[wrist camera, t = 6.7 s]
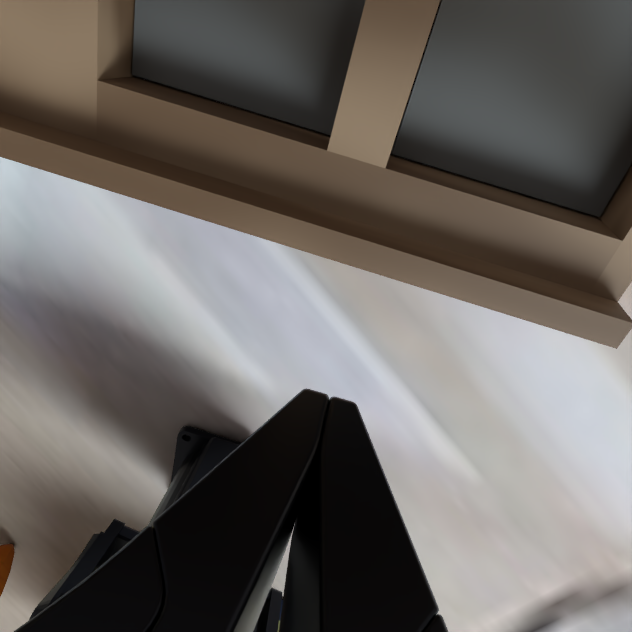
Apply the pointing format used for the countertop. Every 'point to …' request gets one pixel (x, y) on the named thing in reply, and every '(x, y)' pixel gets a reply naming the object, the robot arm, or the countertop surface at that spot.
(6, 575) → the carrot
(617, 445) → the countertop surface
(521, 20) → the box
